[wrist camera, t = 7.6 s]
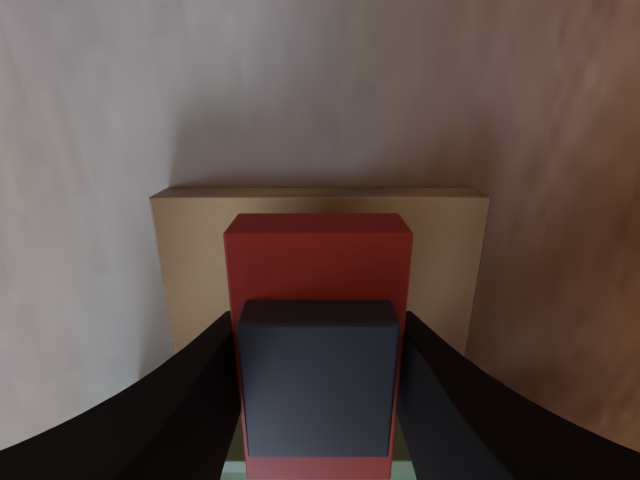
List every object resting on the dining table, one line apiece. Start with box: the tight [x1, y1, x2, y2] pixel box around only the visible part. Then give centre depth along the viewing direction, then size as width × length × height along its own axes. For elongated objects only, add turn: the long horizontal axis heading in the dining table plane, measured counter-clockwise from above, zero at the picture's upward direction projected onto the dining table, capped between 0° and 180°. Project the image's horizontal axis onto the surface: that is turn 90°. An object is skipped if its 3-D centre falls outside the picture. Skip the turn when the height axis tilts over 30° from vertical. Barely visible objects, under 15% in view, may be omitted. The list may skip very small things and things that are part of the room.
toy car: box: [223, 213, 413, 480], centre depth 10 cm, size 4×8×3 cm, turn 0°
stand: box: [149, 188, 491, 356], centre depth 14 cm, size 11×8×2 cm
